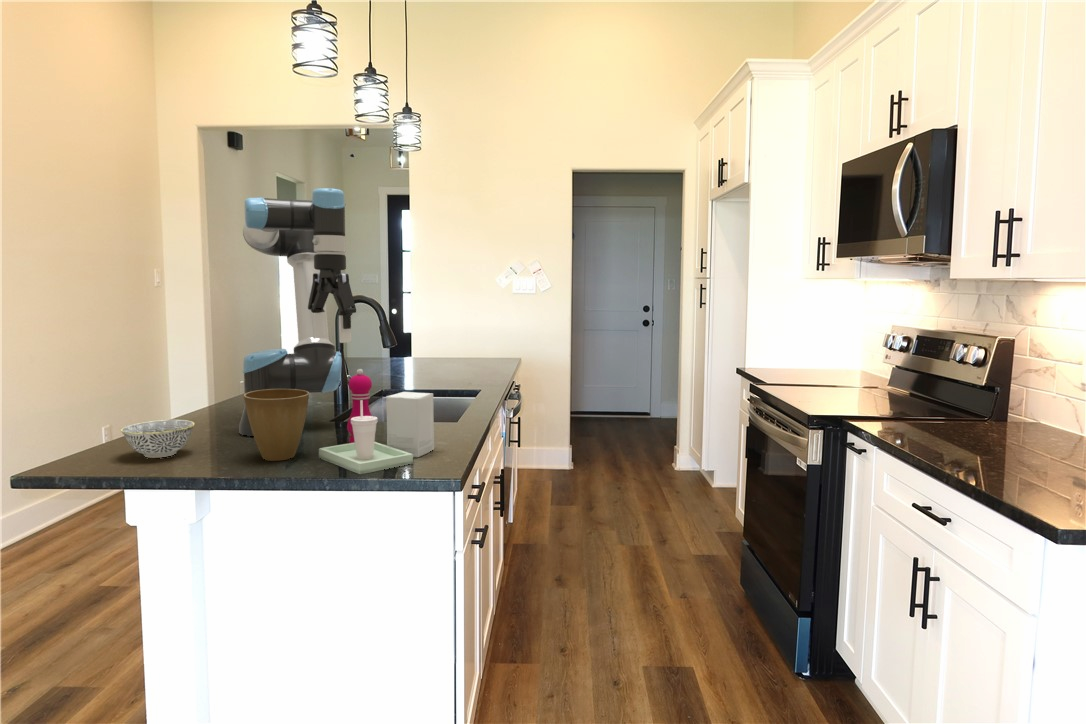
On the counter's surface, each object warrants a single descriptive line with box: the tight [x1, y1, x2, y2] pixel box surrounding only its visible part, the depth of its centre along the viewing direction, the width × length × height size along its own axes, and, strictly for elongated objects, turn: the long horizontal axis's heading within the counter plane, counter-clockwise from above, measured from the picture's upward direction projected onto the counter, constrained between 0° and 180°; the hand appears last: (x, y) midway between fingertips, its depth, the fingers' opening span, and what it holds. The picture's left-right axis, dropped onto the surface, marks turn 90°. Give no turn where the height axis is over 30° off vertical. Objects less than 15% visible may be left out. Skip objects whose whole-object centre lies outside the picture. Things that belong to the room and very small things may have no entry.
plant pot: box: [243, 389, 310, 462], centre depth 175 cm, size 15×15×16 cm
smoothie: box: [351, 400, 379, 460], centre depth 172 cm, size 6×6×14 cm
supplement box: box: [385, 391, 435, 458], centre depth 181 cm, size 9×9×15 cm
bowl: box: [120, 419, 196, 458], centre depth 176 cm, size 16×16×8 cm
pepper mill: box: [346, 368, 373, 444], centre depth 191 cm, size 7×7×20 cm
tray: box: [318, 441, 414, 475], centre depth 173 cm, size 20×14×2 cm
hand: (331, 340), depth 177 cm, fingers open, 13 cm apart
